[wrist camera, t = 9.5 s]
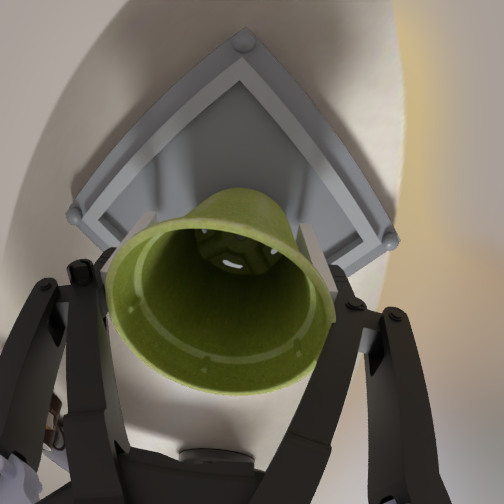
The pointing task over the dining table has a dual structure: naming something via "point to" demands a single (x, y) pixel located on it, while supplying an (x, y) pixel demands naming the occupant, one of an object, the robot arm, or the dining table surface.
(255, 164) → the base plate
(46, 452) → the bluetooth speaker
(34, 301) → the robot arm
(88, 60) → the dining table surface
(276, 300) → the plant pot
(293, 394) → the dining table surface
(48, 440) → the coffee mug
